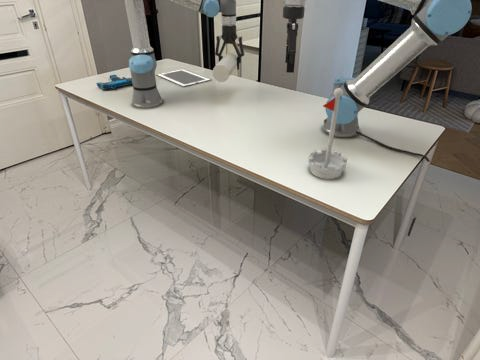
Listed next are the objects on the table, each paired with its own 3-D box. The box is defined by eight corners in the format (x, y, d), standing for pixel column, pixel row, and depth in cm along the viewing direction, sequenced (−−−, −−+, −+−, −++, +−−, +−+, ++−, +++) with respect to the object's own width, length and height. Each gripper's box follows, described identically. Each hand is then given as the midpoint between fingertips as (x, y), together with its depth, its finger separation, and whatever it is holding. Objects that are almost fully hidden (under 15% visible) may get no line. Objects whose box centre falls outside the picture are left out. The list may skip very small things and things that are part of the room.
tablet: (156, 75, 222) (156, 74, 221) (183, 69, 233) (183, 69, 233) (183, 86, 201) (183, 86, 201) (210, 80, 212) (210, 79, 212)
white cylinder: (229, 82, 170) (228, 65, 165) (212, 81, 171) (211, 64, 166) (238, 68, 191) (238, 52, 187) (223, 67, 193) (223, 52, 188)
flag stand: (330, 158, 128) (344, 79, 112) (352, 176, 118) (370, 92, 102) (300, 165, 124) (309, 84, 108) (320, 183, 114) (333, 97, 98)
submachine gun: (140, 68, 226) (159, 74, 209) (142, 73, 228) (160, 80, 211) (89, 77, 207) (104, 85, 190) (90, 84, 209) (106, 92, 192)
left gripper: (250, 24, 178) (249, 67, 190) (210, 23, 181) (213, 66, 194) (248, 26, 172) (247, 71, 184) (207, 25, 175) (209, 69, 187)
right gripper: (282, 1, 130) (279, 59, 141) (284, 10, 109) (280, 76, 120) (302, 2, 129) (297, 59, 141) (307, 10, 108) (301, 76, 120)
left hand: (230, 68), depth 189 cm, fingers closed on white cylinder, 8 cm apart
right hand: (289, 67), depth 131 cm, fingers open, 13 cm apart
